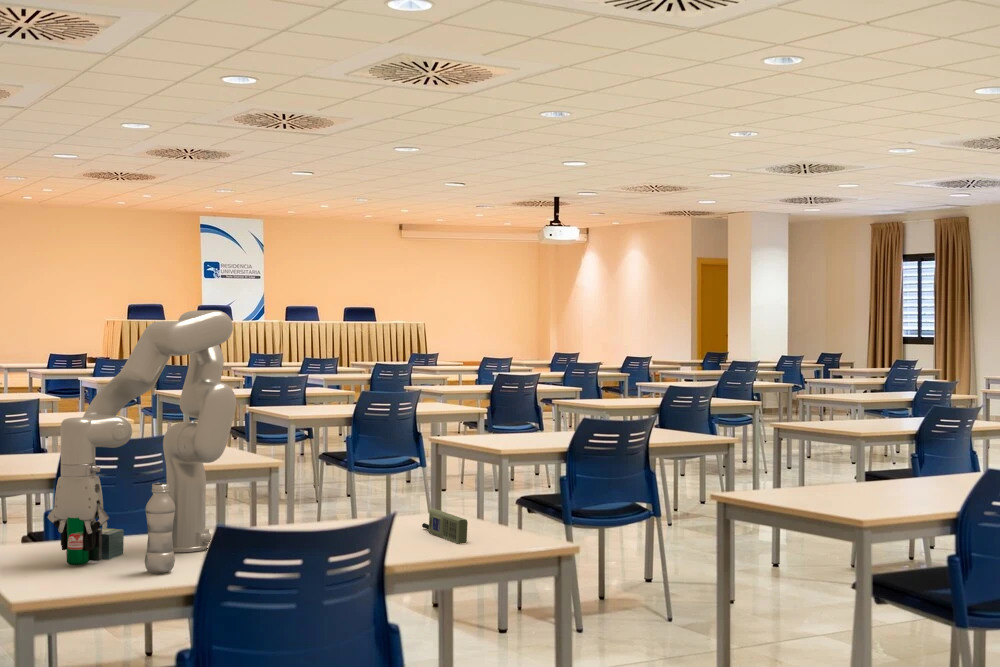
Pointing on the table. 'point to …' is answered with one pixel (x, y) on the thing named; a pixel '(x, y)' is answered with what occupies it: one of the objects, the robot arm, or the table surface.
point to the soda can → (76, 542)
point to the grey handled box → (98, 545)
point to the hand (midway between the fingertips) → (78, 548)
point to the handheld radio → (447, 526)
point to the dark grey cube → (112, 543)
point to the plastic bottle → (160, 530)
